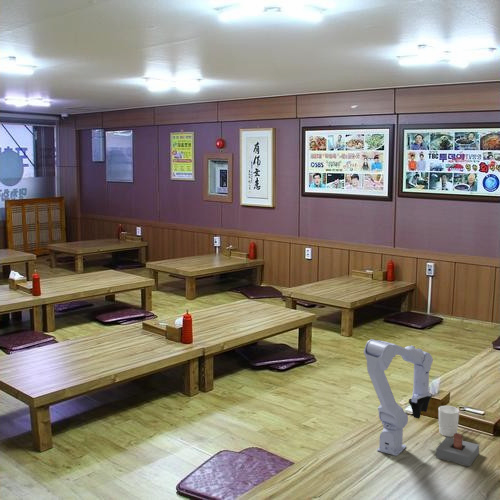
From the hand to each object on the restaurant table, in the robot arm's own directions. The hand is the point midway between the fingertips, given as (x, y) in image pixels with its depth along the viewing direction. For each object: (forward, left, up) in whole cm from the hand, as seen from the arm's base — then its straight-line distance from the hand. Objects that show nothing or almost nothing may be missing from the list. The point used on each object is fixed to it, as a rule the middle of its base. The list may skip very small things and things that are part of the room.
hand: (420, 414), depth 237 cm
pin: (-7, -17, -9) cm, 21 cm away
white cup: (+10, -8, -10) cm, 16 cm away
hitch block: (-7, -17, -9) cm, 21 cm away
